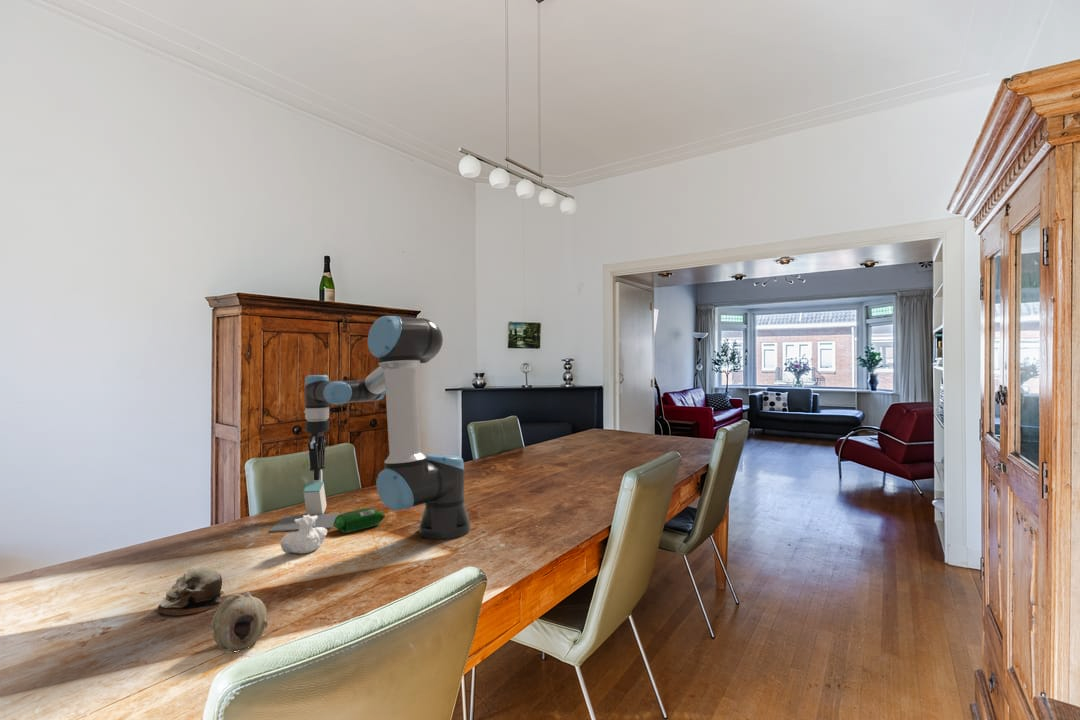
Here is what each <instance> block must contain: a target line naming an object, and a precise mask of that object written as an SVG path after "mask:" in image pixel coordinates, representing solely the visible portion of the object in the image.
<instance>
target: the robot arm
mask: <svg viewBox="0 0 1080 720" xmlns="http://www.w3.org/2000/svg"><path fill="white" fill-rule="evenodd" d="M367 336H368V337H367V346H368V350H369V351H370V353H371V355H372V356H374V357H375V358H377V365H378V367H377V368H375V369H374V370H373V371H372V372H371V373H369V375H366V377H364V378H363V379H358V380H331V381H330V379H329V376H328V375H327V374H311V375H306V376H305V378H304V381H305V382H304V386H303V387H304V407H305V408H304V409H305V410H303V413H304V414H305V415H304V417H305V418H304V419H305V420H306V421H305V423H304V430H305V431H304V432H305V433H309V434H310V438H309V442H308V444H307V448H308V455H309V456H308V457H309V466H310V467H309V468H310V469H309V471H310V472H312V482H323V470H325V469H326V466H325V462H326V461H325V459H326V458H325V457H326V444H327V437H326V436H325V434H324V433H325V432H328V431H330V420H328V419H330V405H333V406H335V405H336V406H337V405H344V404H349V403H351V404H352V403H363V402H365V403H366V402H376V401H380V400H383V398H384V397H385V402H386V418H387V419H386V420H387V433H388V451H389V454H388V456H387V458H386V459H385V460H384V469H382V470H381V471H379V473H378V475H377V477H376V482H375V484H376V490H377V494H378V496H379V498H380V500H381V502H382V503H383V504H384V505H385V506H386V507H387V508H388V509H389V510H392V511H402V510H409V509H412V507H413V508H414V507H417V506H420V505H423V504H424V510H423V512H422V516H421V520H420V522H419V526H418V527H419V529H418V531H419V535H420V536H421V537H423V538H426V539H431V540H449V539H454V538H459V537H461V536H462V537H463V536H465V535H467V533H469V532H470V530H471V522H470V518H469V515H468V511H467V510H466V509H467V508H466V506H465V465H464V459H463V458H462V457H461V456H459V455H455V454H445V453H431V454H429V453H428V454H426V455H425V454H424V453H423V452H422V448H421V434H420V433H421V432H420V419H419V403H418V388H417V375H416V368H417V367H418V366H419V365H421V364H427V363H429V361H431V360H432V359H433V358H435V357H436V356H437V355H438V354H439V352H440V351H441V349H442V346H443V341H444V339H443V333H442V331H441V329H440V327H439V326H438V325H437V324H436V323H435V322H434V321H433V320H430V319H427V318H424V317H423V318H421V317H420V318H418V317H410V316H403V315H402V316H400V315H383V316H380V317H379V318H377V319H376V320H375V321H374V322H373V324H372V325H371V326H370V329H369V332H368V335H367Z"/></svg>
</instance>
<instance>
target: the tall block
mask: <svg viewBox="0 0 1080 720" xmlns="http://www.w3.org/2000/svg"><path fill="white" fill-rule="evenodd" d="M325 491H326V490H325V484H324V481H322V482H313V481H310V482H309V481H308V482H307V483H306V485H305V487H304V490H303V492H302V493H303V497H304V504H305V512H306V515H308V514H309V515H316V514H325V510H326V508H327V499H326V498H327V496H326V492H325Z"/></svg>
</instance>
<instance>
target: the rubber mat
mask: <svg viewBox="0 0 1080 720" xmlns="http://www.w3.org/2000/svg"><path fill="white" fill-rule="evenodd" d="M343 513H344V512H341V513H340V512H339V513H324V514H316V515H317V516H318V517H317V519H316V520H315V526H312V528H316V527H323V528H325V529H327V530H332V528H333V527H334V521H335V518H336V517H337V516H338V515H340V514H343ZM303 515H304V514H300V515H299V514H298V515H285V516H284V517H283V518H282V519H280V520H279V521H278V522H277V523H276V524H274V526H273V527H271V528H270V529H269V530H268V533H281V532H283V533H284V532H297V531H299V530H300V529H299V527H300V524H298V523H296V522H295V521H294V520H295V519H299V518H303ZM310 516H315V515H310Z"/></svg>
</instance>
